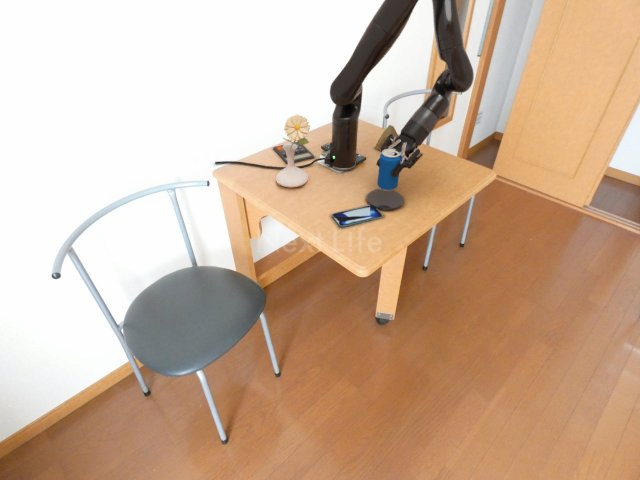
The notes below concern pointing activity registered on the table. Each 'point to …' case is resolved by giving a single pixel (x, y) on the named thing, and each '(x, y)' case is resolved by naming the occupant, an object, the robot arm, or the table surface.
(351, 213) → the smartphone
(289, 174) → the flower in vase
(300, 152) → the calculator
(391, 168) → the beverage can
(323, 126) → the table surface
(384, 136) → the rock
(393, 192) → the metal coaster
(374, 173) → the table surface
